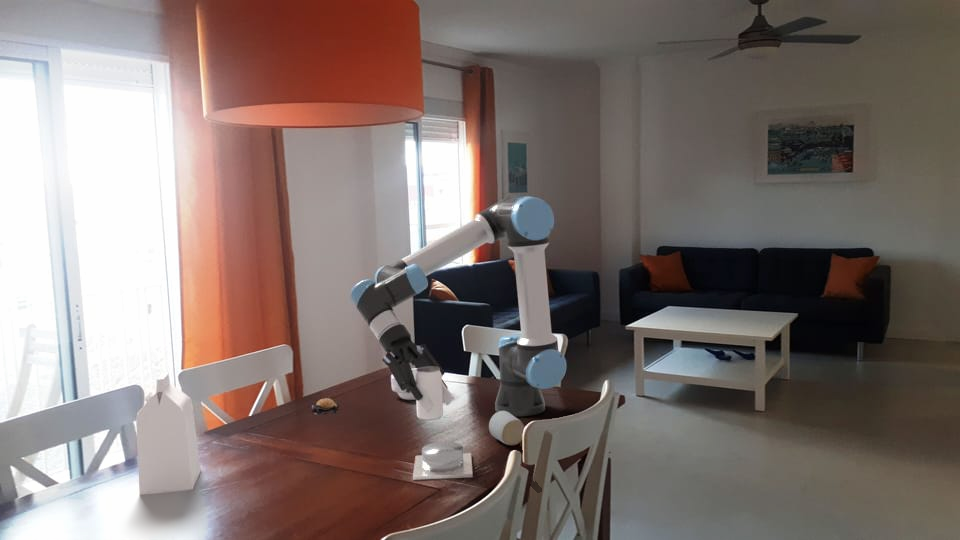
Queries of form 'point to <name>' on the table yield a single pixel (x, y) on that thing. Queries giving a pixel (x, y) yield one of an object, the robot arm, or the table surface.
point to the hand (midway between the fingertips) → (440, 405)
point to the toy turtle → (325, 406)
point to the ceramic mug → (506, 428)
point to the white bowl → (397, 389)
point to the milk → (167, 441)
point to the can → (430, 392)
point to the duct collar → (442, 462)
